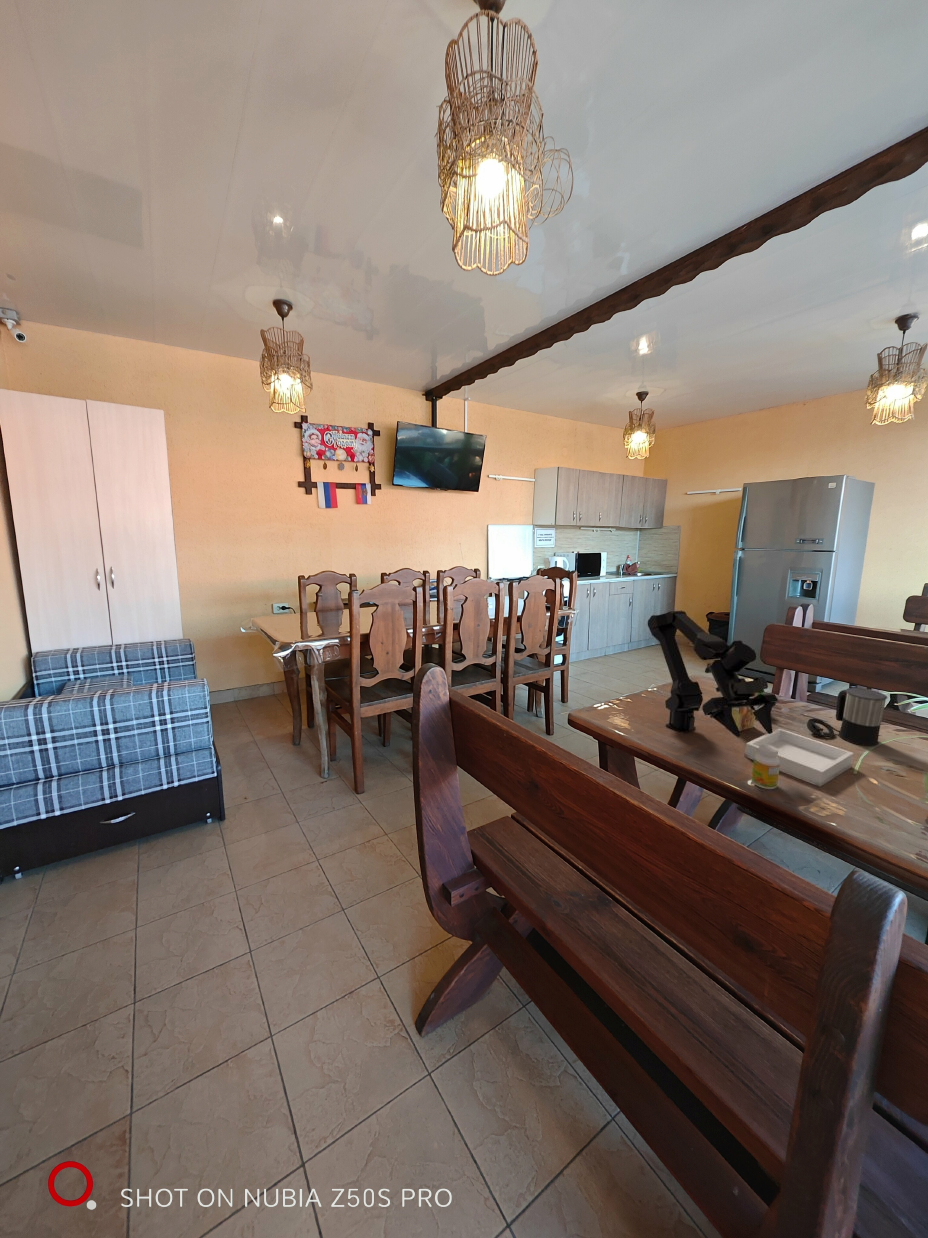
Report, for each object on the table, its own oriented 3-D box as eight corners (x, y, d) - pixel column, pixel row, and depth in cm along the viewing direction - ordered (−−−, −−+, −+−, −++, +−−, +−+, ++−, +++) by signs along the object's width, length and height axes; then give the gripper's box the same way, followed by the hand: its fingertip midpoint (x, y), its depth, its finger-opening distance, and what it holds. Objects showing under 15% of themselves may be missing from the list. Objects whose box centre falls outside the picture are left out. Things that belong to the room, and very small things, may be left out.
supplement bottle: (746, 778, 116) (750, 743, 114) (766, 777, 117) (770, 742, 115) (761, 790, 111) (766, 753, 109) (782, 789, 111) (787, 752, 109)
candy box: (742, 722, 149) (747, 677, 146) (755, 727, 146) (760, 681, 143) (724, 727, 146) (729, 682, 143) (737, 733, 142) (742, 686, 139)
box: (744, 756, 127) (746, 743, 126) (777, 740, 136) (779, 728, 135) (819, 787, 112) (822, 772, 111) (851, 767, 121) (853, 753, 120)
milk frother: (887, 745, 133) (896, 697, 130) (843, 751, 130) (851, 702, 127) (839, 725, 147) (846, 681, 144) (798, 729, 143) (804, 685, 141)
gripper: (713, 668, 116) (742, 726, 108) (777, 663, 119) (809, 720, 111) (690, 687, 125) (715, 742, 117) (750, 682, 129) (778, 736, 120)
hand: (755, 735), depth 116 cm, fingers open, 9 cm apart
